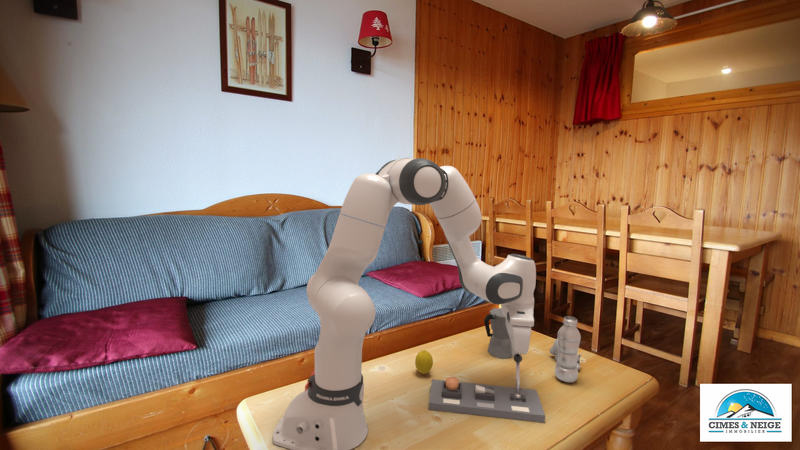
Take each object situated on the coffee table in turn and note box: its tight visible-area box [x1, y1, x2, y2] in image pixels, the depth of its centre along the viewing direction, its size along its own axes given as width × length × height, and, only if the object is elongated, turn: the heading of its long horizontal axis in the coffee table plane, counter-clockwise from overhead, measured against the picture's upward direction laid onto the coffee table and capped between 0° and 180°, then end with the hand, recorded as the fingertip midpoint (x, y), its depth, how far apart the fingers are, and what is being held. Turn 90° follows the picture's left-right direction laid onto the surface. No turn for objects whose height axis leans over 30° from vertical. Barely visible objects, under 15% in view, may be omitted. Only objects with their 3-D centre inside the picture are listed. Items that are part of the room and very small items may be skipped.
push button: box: [445, 376, 460, 390], centre depth 107 cm, size 4×4×2 cm
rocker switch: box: [475, 385, 494, 394], centre depth 106 cm, size 5×2×1 cm, turn 82°
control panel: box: [428, 378, 546, 424], centre depth 107 cm, size 30×12×4 cm, turn 81°
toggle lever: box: [512, 354, 523, 399], centre depth 107 cm, size 2×2×12 cm
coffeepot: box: [483, 304, 513, 360], centre depth 135 cm, size 15×9×18 cm, turn 122°
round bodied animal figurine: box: [549, 337, 582, 371], centre depth 129 cm, size 7×12×8 cm, turn 13°
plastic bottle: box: [554, 315, 582, 384], centre depth 118 cm, size 6×7×20 cm
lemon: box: [414, 349, 434, 375], centre depth 121 cm, size 6×6×8 cm
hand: (514, 354), depth 113 cm, fingers closed
